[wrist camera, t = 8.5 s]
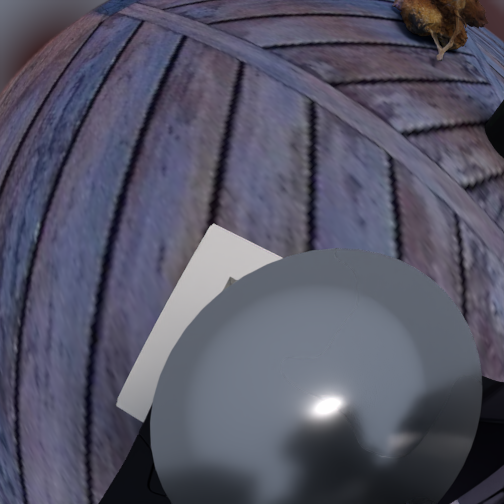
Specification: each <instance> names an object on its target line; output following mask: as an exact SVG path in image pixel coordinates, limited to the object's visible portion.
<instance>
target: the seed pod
mask: <svg viewBox="0 0 504 504" xmlns="http://www.w3.org/2000/svg"><path fill="white" fill-rule="evenodd" d="M392 6H394V7H396V8H397V9H398V10H399V11H401V12H400V14H401V15H402V19H403V20H404V21H405V22H404V23H405V24H406V27H407V29H408V30H409V31H411V32H412V33H414V34H418V35H419V36H428V35H431V36H432V37H433V39H434V41H435V43H436V45H437V47H438V55H437V60H439V61H442V59H443V54H444V53H445V52H446V51H447V50H448V49H458V48H459V47H461V46H464V44H465V43H466V41H467V40H466V39H468V37H467V34H466V33H467V32H466V31H465V28H466V26H467V24H468V25H469V26H471V27H473V26H475V27H477V28H479V26H480V27H481V28H482V27H484V25H485V24H488V23H489V22H488V21H487V19H486V17H485V13H486V12H485V9H484V7H483V6H482V5H481V4H480V3H479V1H478V0H395V2H394V4H393V5H392ZM463 24H465V28H464V25H463ZM437 37H438V39H439V40H440V42H441V43H442V45H443V47H444V48H443V49H442V47H441V46H440V45H439V42H438V39H437ZM465 47H466V46H465Z"/></svg>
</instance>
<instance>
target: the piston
mask: <svg viewBox="0 0 504 504" xmlns="http://www.w3.org/2000/svg"><path fill="white" fill-rule="evenodd" d="M481 402H482V374H481V367H480V361H479V355H478V352H477V348H476V345H475V341H474V338H473V336H472V334H471V331H470V329H469V327H468V324H467V322H466V321H465V319H464V317H463V315H462V314H461V312H460V311H459V309H458V307H457V306H456V305H455V303H454V302H453V301H452V300H451V298H450V297H449V296H448V295H447V293H446V292H445V291H444V290H443V289H441V288H440V287H439V286H438V285H437V284H436V283H435V282H434V281H433V280H432V279H430V278H429V277H428V276H426V275H425V274H423V273H422V272H420V271H419V270H418V269H416V268H414V267H412V266H410V265H408V264H406V263H404V262H402V261H400V260H398V259H395V258H392V257H389V256H386V255H383V254H380V253H375V252H370V251H365V250H359V249H339V248H336V249H324V250H313V251H309V252H305V253H300V254H296V255H291V256H288V257H285V258H283V259H280V260H277V261H274V262H272V263H269V264H266V265H264V266H263V267H261V268H259V269H257V270H255V271H253V272H251V273H249V274H247V275H245V276H243V277H242V278H240V279H239V280H238V281H236V282H235V283H233V284H232V285H230V286H229V287H228V288H226V289H225V290H223V291H222V292H221V293H220V294H218V295H217V296H216V297H215V298H214V299H213V300H212V301H211V302H210V303H209V304H207V305H206V306H205V307H204V308H203V309H202V310H201V311H200V312H199V314H198V315H197V316H196V317H195V318H194V319H193V321H192V322H191V323H190V324H189V325H188V326H187V328H186V329H185V330H184V332H183V333H182V335H181V336H180V338H179V339H178V341H177V343H176V344H175V346H174V347H173V349H172V350H171V352H170V354H169V356H168V359H167V361H166V363H165V365H164V367H163V370H162V372H161V374H160V377H159V380H158V384H157V387H156V391H155V394H154V398H153V404H152V411H151V419H150V436H151V449H152V454H153V459H154V464H155V468H156V471H157V474H158V477H159V479H160V482H161V484H162V487H163V489H164V491H165V493H166V494H167V496H168V498H169V499H170V501H171V503H172V504H437V503H438V502H439V501H440V500H441V498H442V497H443V496H444V495H445V493H446V492H447V491H448V489H449V488H450V486H451V485H452V484H453V482H454V481H455V479H456V477H457V476H458V474H459V472H460V470H461V469H462V467H463V465H464V463H465V461H466V458H467V456H468V454H469V452H470V449H471V447H472V444H473V441H474V438H475V435H476V431H477V427H478V423H479V418H480V412H481Z"/></svg>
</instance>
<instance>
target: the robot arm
mask: <svg viewBox="0 0 504 504" xmlns="http://www.w3.org/2000/svg"><path fill="white" fill-rule="evenodd" d="M152 404H153V403H152ZM151 411H152V405H151V407H150V409H149V412H148V414H147V416H146V418H145V420H144V422H143V425H142V427H141V429H140V431H139V434H140V435H137V437H136V440H135V442H134V444H133V446H132V448H131V450H130V452H129V454H128V456H127V458H126V460H125V461H124V463H123V465H122V467H121V468H120V470H119V472H118V473H117V475H116V477H115V478H114V480H113V481H112V483H111V485H110V486H109V488H108V490H107V491H106V493H105V494H104V496H103V498H102V499H101V501H100V502H99V504H172V503H171V501H170V499H169V498H168V496H167V494H166V493H165V491H164V489H163V487H162V484H161V482H160V479H159V477H158V474H157V471H156V468H155V464H154V459H153V454H152V449H151V436H150V419H151ZM455 500H458V502H459V504H504V382H499V381H495V380H492V379H489V378H487V377H484V376H482V402H481V412H480V418H479V423H478V427H477V431H476V435H475V438H474V441H473V444H472V447H471V449H470V452H469V454H468V456H467V458H466V461H465V463H464V465H463V467H462V469H461V470H460V472H459V474H458V476H457V477H456V479H455V481H454V482H453V484H452V485H451V486H450V488H449V489H448V491H447V492H446V493H445V495H444V496H443V497H442V498H441V500H440V501H439V502H438V503H437V504H450V503H452V502H454V501H455Z"/></svg>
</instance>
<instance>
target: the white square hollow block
mask: <svg viewBox="0 0 504 504" xmlns="http://www.w3.org/2000/svg"><path fill="white" fill-rule="evenodd" d="M280 259H283V258H282V257H280V256H278V255H276V254H274V253H272V252H270V251H268V250H266V249H264V248H262V247H260V246H258V245H256V244H254V243H252V242H250V241H248V240H246V239H244V238H242V237H240V236H238V235H236V234H234V233H231V232H229V231H227V230H225V229H223V228H221V227H219V226H217V225H215V224H213V225H212V226H211V225H210V227H209V229H208V231H207V232H206V234H205V236H204V237H203V239H202V241H201V243H200V244H199V246H198V248H197V250H196V251H195V253H194V255H193V257H192V258H191V260H190V262H189V264H188V265H187V267H186V269H185V271H184V273H183V274H182V276H181V278H180V280H179V281H178V283H177V285H176V287H175V289H174V291H173V292H172V294H171V296H170V298H169V300H168V302H167V303H166V305H165V307H164V309H163V311H162V313H161V314H160V316H159V318H158V320H157V322H156V324H155V326H154V328H153V330H152V331H151V333H150V335H149V337H148V339H147V341H146V343H145V345H144V347H143V349H142V351H141V353H140V355H139V357H138V359H137V360H136V362H135V364H134V366H133V368H132V370H131V372H130V374H129V376H128V378H127V380H126V382H125V384H124V387H123V389H122V391H121V393H120V395H119V397H118V399H117V400H118V402H117V404H116V406H117V407H119V408H120V409H122V410H124V411H125V412H127V413H128V414H130V415H132V416H133V417H135V418H137V419H138V420H140V421H142V422H144V420H145V418H146V416H147V414H148V412H149V409H150V407H151V405H152V403H153V398H154V394H155V391H156V387H157V384H158V380H159V377H160V374H161V372H162V370H163V367H164V365H165V363H166V361H167V359H168V356H169V354H170V352H171V350H172V349H173V347H174V346H175V344H176V343H177V341H178V339H179V338H180V336H181V335H182V333H183V332H184V330H185V329H186V328H187V326H188V325H189V324H190V323H191V322H192V321H193V319H194V318H195V317H196V316H197V315H198V314H199V312H200V311H201V310H202V309H203V308H204V307H205V306H206V305H207V304H209V303H210V302H211V301H212V300H213V299H214V298H215V297H216V296H217V295H218V294H220V293H221V292H222V291H223V290H225V289H226V288H228V287H229V286H230V285H232V284H233V283H235V282H236V281H238V280H239V279H240V278H242V277H243V276H245V275H247V274H249V273H251V272H253V271H255V270H257V269H259V268H261V267H263V266H264V265H266V264H269V263H272V262H274V261H277V260H280Z"/></svg>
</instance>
